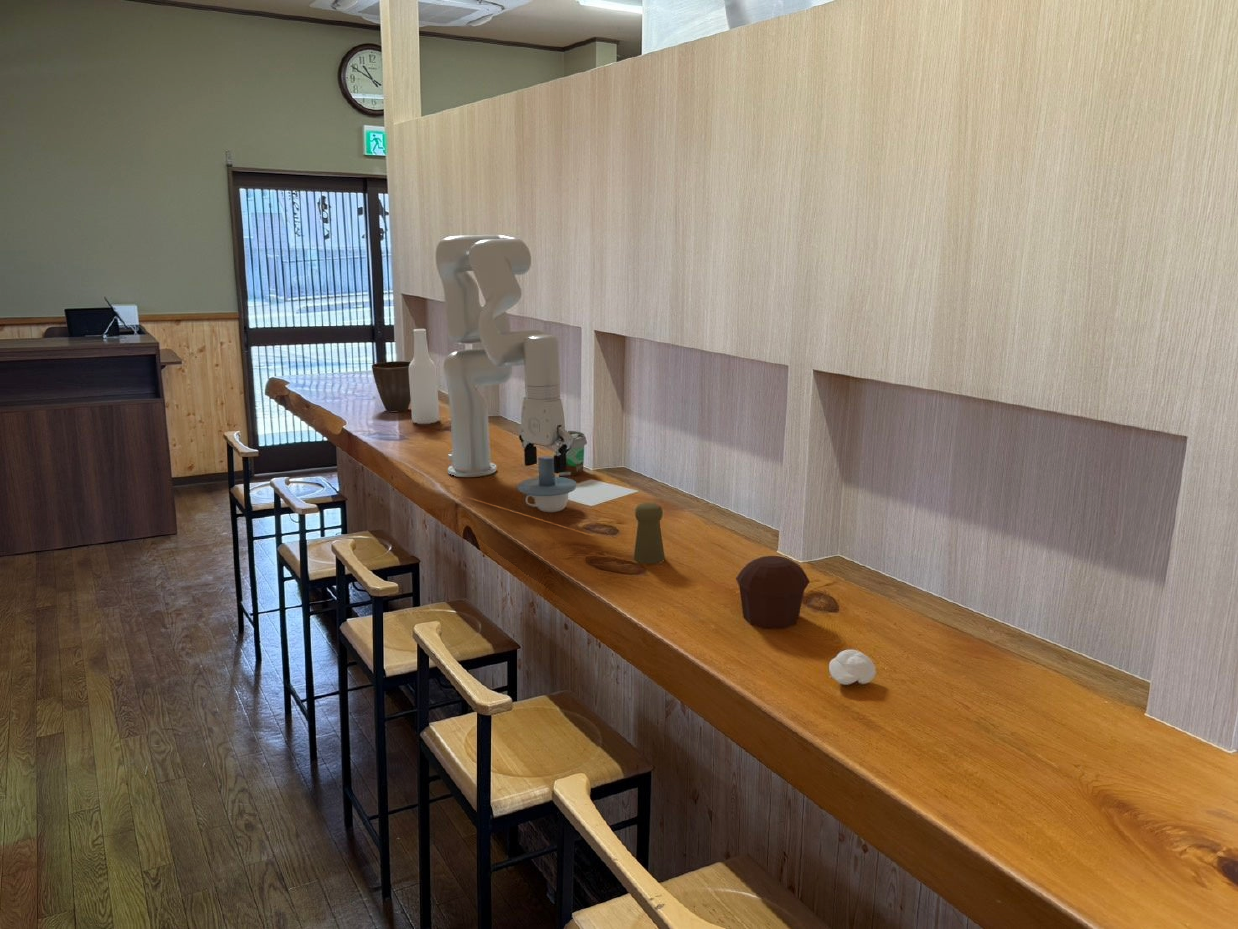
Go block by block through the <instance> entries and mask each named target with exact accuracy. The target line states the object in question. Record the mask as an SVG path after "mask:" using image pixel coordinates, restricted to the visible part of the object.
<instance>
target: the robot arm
mask: <svg viewBox="0 0 1238 929" xmlns="http://www.w3.org/2000/svg"><path fill="white" fill-rule="evenodd" d="M529 249H530V248H529V247H528V246H527V244H526V243H525V242H524V241H523V240H522V239H520V238H517V237H512V236H508V235H507V236H506V235H502V234H479V235H478V234H472V235H471V234H469V235H467V234H465V235H464V234H463V235H454V236H448V237H444V238H443V239H440V241H439V242H438V243H437V245H436V249H435V265H436V269H437V272H438V275H439V278H440V281H441V284H442V288H443V294H444V308H445V309H444V310H445V322H446V331H447V336H448V339H449V340H450V341H451V342H452V343H453V344H455V345H474V344H475V345H476V344H482V347H483V348H470V349H462V350H461V349H460V350H456V351H453V352H451V353H449V354H447V356H446V357H445V359H444V361H443V366H442V367H443V374H444V378H445V382H446V387H447V393H448V401H449V413H450V414H449V415H450V429H451V445H452V448H451V449H452V451H451V454H450V453H449V454H447V456H446V457H447V460H450V461H451V465H450V466H448V467H447V473H448V474H449V475H450V474H451V475H450V476H452V475H454V476H453V477H458V478H477V477H478V478H479V477H486V476H489V475H492V474H494V473H496V472H497V470H498V468H497V464H495V463H493V462H491V449H490V448H491V447H490V444H491V443H490V428H489V427H490V425H489V412H488V411H489V410H488V403H487V400H486V398H484V396H483V395H482V394H481V393H480V392H479V389H478V388H481V387H485V386H494V385H501V384H505V383H507V382H508V381H510V379H511V377H512V375H513V367H517V366H523V370H524V393H525V394H524V395H525V396H524V397H523V400H522V404H521V417H520V419H521V420H520V421H521V422H520V424H519V425H517V426H516V432H517V433H518V439H519V440H520V442H521V446H522V447H521V448H523V452H524V455H523V456H524V466H525V467H529V466H532V465H536V464H538V451H537V450H538V449H537V446H541V447H551V448H552V450H553V452H554V455H553V457H554V472H555V474H559V473H561V472H564V471H566V470H567V465H566V454H567V453H568V451H569V449H570V448H571V444H572V441H573V436H572V435H571V434H569V433H568V430H567V429H566V422H565V413H564V407H563V406H564V405H563V401H562V398H561V382H560V381H561V380H560V379H561V378H560V354H559V353H560V350H559V349H560V348H559V340H558V337H557V336H556V335H553V334H547V333H545V332H544V331H542V330H540V329H539V330H538V329H537V330H536V329H535V330H515V331H511V323H510V319H509V316H508V313H507V311H509V310H511V309H512V308H513V307H514V306H515V305H517V304H518V303H519V301H520V299H521V298H522V294H523V293H522V288H521V286H520V283H519V282H518V280H517V277H516V276H522V275H525V274H527V273H528V272H529V271H530V269H531V265H532V256H531V251H530V250H529ZM469 272H473V274H474V277H475V279H474V278H473V276H472V275H471V274H470V273H469ZM476 281H477V282H476ZM477 283H478V284H477ZM479 288H480V289H479ZM479 290H480V291H479ZM480 292H481V294H482V296H483V298H484V300H485V303H484V304H481V303H480ZM557 445H559V446H560V448H558V446H557Z"/></svg>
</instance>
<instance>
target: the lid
mask: <svg viewBox="0 0 1238 929" xmlns="http://www.w3.org/2000/svg"><path fill="white" fill-rule="evenodd" d="M537 466H538V468H537V469H538V476H537V477H533V478H528V479H525V480H521V481H520V482H519V483H518V484H517V489H518V490H517V491H518V492H520V493H522V494H524V495H526V496H527V495H533V496H555V495H562V494H566V493H569V492H572V491H574V490H575V489H576V484H577V481H575V479H572V478H568V477H559V476H556V473H555V472H554V456H549V455H548V456H545V455H544V456H539V457H537Z"/></svg>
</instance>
